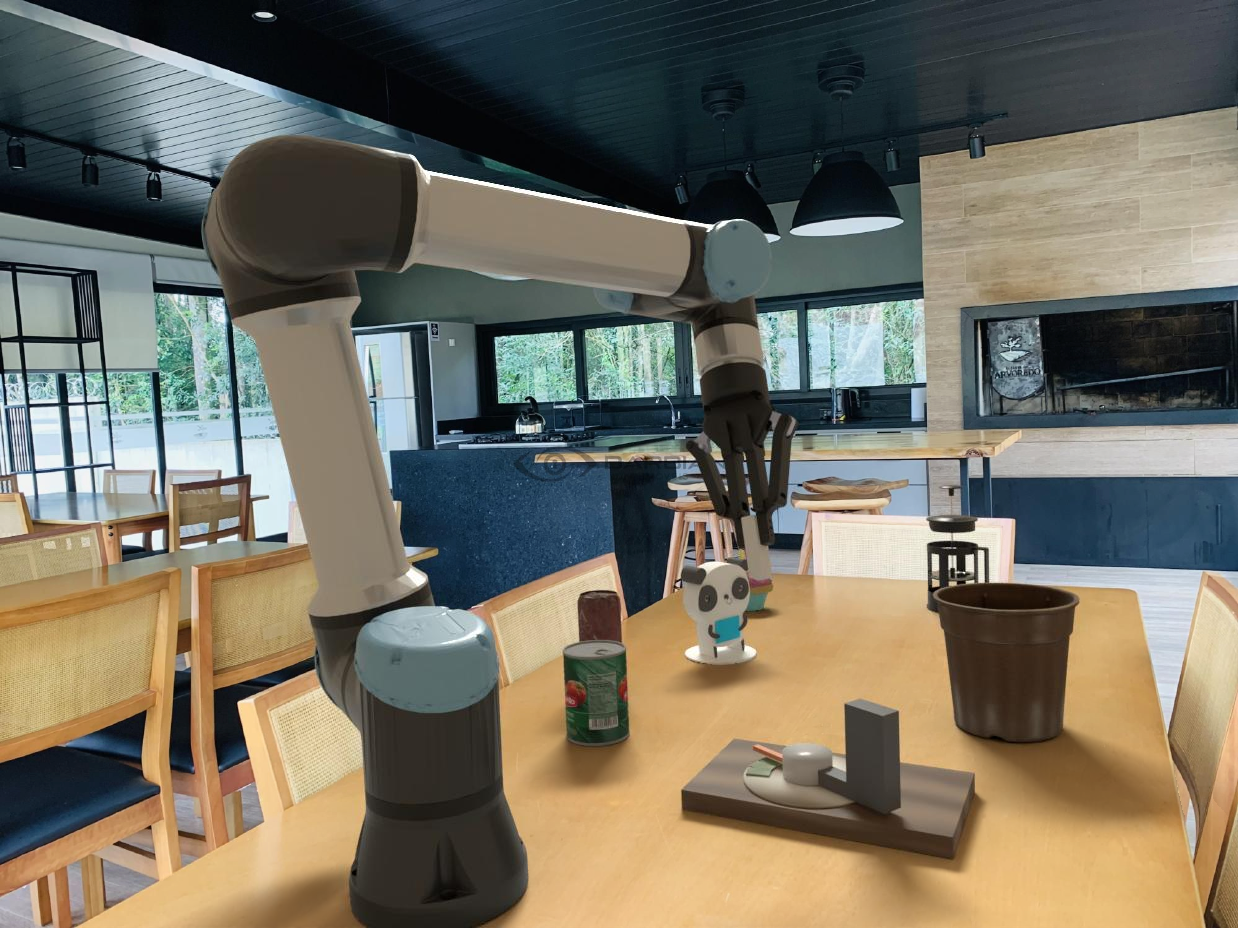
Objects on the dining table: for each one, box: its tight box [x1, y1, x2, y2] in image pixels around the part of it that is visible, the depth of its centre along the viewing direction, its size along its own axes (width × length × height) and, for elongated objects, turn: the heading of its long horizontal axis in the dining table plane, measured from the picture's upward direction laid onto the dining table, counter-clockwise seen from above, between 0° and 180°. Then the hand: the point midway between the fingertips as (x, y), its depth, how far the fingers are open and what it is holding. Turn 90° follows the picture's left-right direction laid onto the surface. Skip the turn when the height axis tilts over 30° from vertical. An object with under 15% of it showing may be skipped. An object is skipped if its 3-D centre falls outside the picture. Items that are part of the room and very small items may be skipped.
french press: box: [925, 484, 990, 613], centre depth 171 cm, size 12×9×23 cm
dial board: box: [680, 738, 976, 860], centre depth 94 cm, size 15×26×2 cm, turn 62°
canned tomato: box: [562, 640, 631, 747], centre depth 115 cm, size 8×8×11 cm
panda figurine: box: [680, 556, 757, 666], centre depth 148 cm, size 12×11×15 cm
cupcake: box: [738, 548, 774, 612], centre depth 179 cm, size 9×8×12 cm
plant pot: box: [933, 582, 1080, 743], centre depth 112 cm, size 16×16×16 cm
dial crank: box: [753, 698, 901, 814], centre depth 93 cm, size 19×5×9 cm, turn 34°
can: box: [576, 589, 623, 643], centre depth 132 cm, size 6×6×14 cm
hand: (761, 577), depth 98 cm, fingers closed
